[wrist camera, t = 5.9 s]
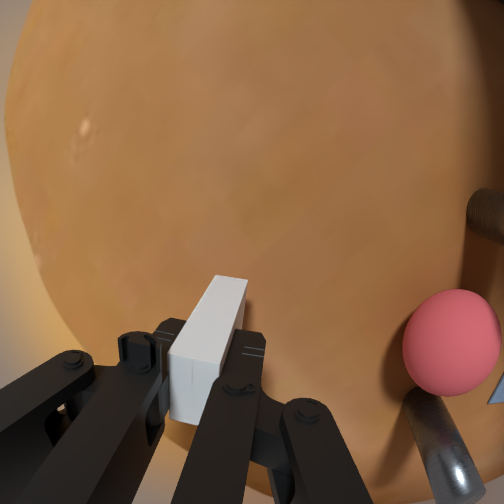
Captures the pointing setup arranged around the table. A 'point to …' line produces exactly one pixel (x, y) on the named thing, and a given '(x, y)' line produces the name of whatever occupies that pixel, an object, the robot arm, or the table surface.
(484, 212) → the post
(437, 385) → the ball
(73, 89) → the table surface
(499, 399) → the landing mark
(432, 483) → the post
